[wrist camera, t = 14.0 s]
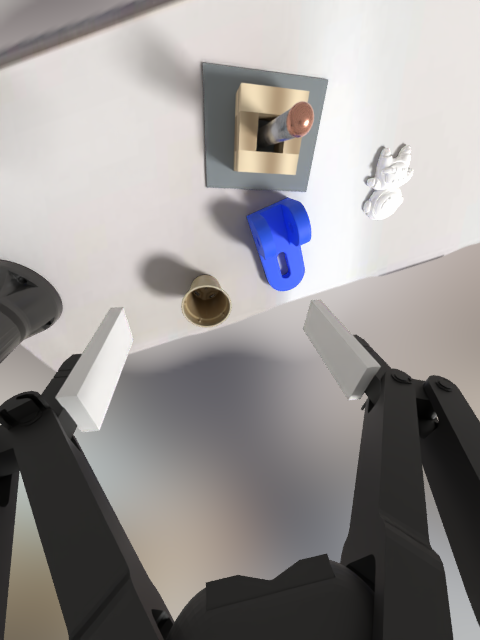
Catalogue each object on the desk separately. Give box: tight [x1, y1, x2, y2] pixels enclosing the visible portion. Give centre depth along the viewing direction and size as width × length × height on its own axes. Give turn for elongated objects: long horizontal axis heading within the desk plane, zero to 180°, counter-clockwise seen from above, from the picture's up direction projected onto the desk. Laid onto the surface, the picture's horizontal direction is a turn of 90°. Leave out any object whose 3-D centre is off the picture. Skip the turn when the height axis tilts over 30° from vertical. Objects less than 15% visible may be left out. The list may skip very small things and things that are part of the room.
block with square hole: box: [234, 83, 310, 175], centre depth 32 cm, size 9×9×5 cm
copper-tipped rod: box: [257, 101, 314, 147], centre depth 27 cm, size 3×3×17 cm
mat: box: [203, 63, 328, 192], centre depth 34 cm, size 18×14×1 cm
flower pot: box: [181, 275, 232, 327], centre depth 44 cm, size 9×9×9 cm
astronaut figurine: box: [363, 145, 413, 220], centre depth 40 cm, size 9×12×3 cm
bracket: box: [246, 198, 311, 291], centre depth 42 cm, size 18×8×9 cm, turn 21°
